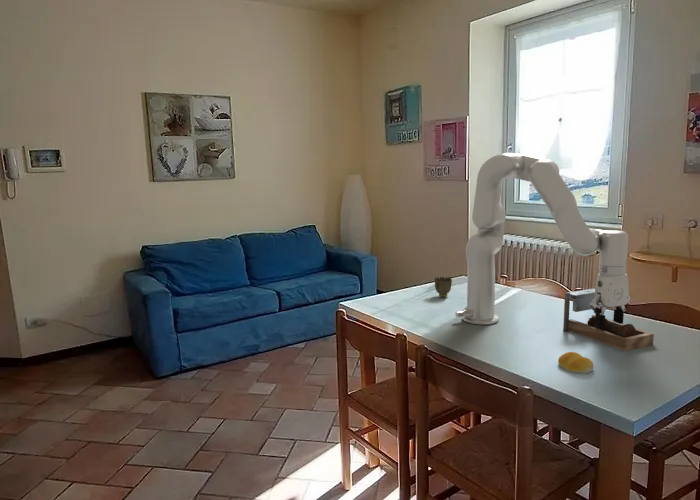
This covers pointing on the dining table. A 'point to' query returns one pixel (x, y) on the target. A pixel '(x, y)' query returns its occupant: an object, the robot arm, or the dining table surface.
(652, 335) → the cradle
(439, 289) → the cup
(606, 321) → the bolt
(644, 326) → the dining table surface
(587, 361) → the bread roll
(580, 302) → the gate
